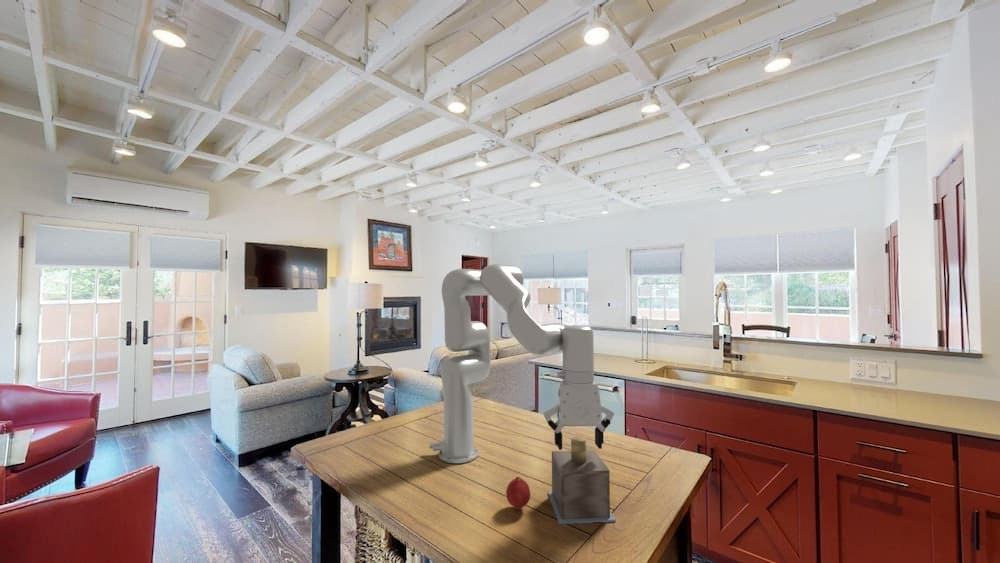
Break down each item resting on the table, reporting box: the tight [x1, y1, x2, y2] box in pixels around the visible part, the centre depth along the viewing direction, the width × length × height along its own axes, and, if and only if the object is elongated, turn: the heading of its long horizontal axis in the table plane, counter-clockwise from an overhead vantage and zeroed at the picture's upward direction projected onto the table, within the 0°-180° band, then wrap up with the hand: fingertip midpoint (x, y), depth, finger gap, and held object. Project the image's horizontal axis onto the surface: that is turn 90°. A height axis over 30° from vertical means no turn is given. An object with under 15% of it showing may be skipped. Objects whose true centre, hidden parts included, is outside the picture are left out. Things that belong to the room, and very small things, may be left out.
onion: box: [505, 475, 531, 511], centre depth 90 cm, size 6×6×8 cm
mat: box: [547, 490, 616, 525], centre depth 91 cm, size 13×13×1 cm
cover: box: [551, 436, 611, 519], centre depth 91 cm, size 11×11×16 cm
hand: (579, 447), depth 91 cm, fingers open, 9 cm apart
